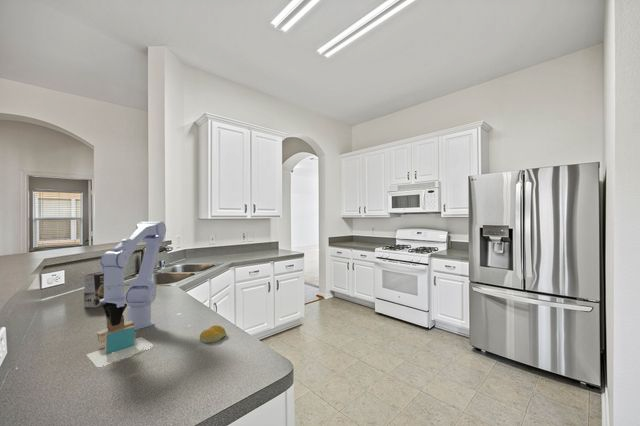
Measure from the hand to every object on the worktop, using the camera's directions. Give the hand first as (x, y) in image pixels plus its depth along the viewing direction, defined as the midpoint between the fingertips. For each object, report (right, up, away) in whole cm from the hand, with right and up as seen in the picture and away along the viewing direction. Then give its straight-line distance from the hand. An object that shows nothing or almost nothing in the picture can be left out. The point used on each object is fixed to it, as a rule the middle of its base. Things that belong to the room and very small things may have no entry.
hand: (113, 323), depth 95 cm
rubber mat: (+7, -7, -5) cm, 11 cm away
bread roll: (+33, -8, +5) cm, 35 cm away
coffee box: (-40, -8, +41) cm, 58 cm away
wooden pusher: (+1, -5, +1) cm, 5 cm away
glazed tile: (+5, -7, -4) cm, 10 cm away
